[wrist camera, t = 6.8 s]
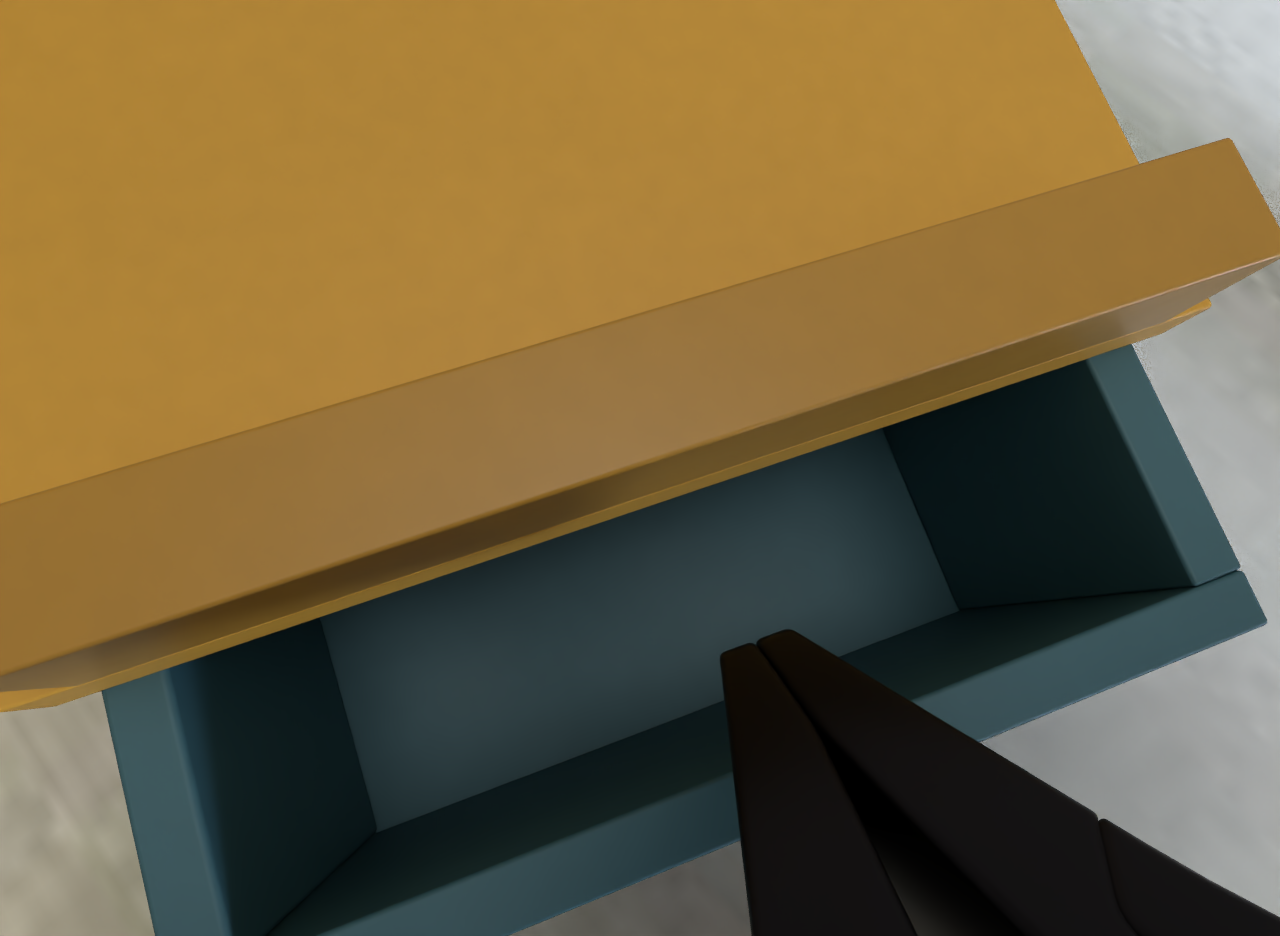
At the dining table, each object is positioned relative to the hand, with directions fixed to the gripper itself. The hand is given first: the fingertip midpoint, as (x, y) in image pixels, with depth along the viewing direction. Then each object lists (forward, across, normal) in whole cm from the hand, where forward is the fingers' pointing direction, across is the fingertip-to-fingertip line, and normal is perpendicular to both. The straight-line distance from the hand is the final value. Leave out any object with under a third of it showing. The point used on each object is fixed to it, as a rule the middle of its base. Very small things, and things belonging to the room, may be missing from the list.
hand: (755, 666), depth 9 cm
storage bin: (+10, 0, +3) cm, 10 cm away
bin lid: (+8, 0, -5) cm, 9 cm away
